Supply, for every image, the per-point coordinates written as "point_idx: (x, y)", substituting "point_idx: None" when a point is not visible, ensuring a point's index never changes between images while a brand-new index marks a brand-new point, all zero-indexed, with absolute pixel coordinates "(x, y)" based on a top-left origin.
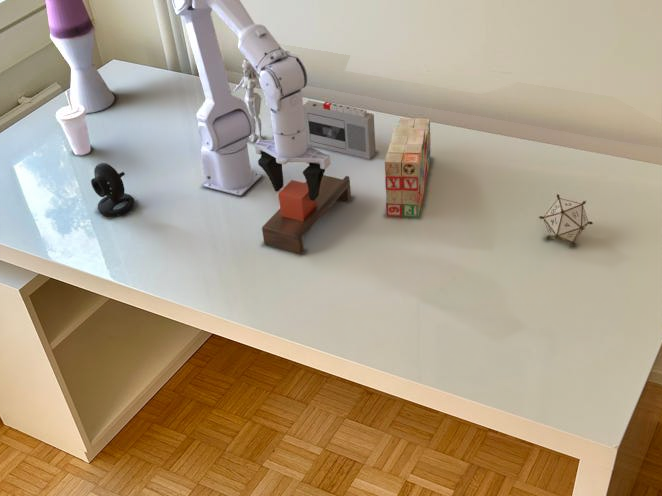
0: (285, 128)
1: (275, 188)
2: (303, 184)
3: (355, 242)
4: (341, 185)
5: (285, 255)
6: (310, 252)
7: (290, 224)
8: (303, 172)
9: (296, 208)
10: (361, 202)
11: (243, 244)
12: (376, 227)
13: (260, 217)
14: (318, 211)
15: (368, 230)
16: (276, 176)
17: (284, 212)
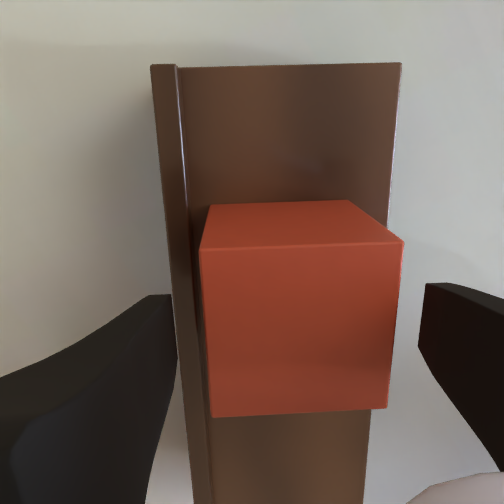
0: None
1: (452, 288)
2: (285, 397)
3: (24, 253)
4: (192, 487)
5: (234, 43)
6: (145, 114)
7: (264, 156)
8: (3, 444)
9: (248, 221)
10: (159, 449)
11: (457, 33)
12: (19, 360)
13: (465, 236)
14: (173, 293)
15: (32, 334)
16: (497, 363)
17: (331, 207)
